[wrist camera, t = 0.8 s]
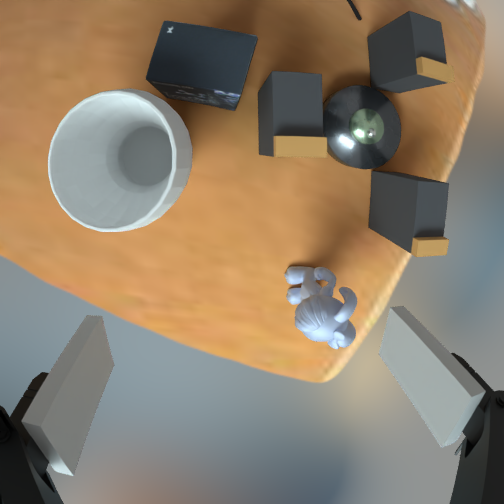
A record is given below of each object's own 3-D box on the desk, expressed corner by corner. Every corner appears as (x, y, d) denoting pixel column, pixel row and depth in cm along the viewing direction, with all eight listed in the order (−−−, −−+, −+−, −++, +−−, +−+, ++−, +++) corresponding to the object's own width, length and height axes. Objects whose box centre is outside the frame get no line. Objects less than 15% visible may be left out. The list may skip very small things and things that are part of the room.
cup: (105, 118, 30) (35, 104, 16) (197, 102, 31) (179, 68, 17) (116, 208, 34) (55, 248, 19) (206, 196, 34) (195, 230, 20)
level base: (316, 84, 31) (327, 78, 28) (390, 94, 32) (405, 90, 28) (317, 166, 34) (328, 168, 31) (390, 169, 35) (406, 172, 32)
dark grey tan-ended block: (367, 37, 29) (414, 7, 19) (395, 43, 30) (446, 19, 19) (371, 88, 31) (423, 72, 21) (398, 93, 32) (454, 81, 21)
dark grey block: (371, 170, 35) (424, 182, 24) (399, 172, 35) (455, 185, 25) (368, 227, 37) (416, 257, 27) (395, 226, 37) (446, 254, 27)
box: (165, 99, 30) (143, 79, 20) (179, 53, 29) (163, 17, 19) (235, 112, 32) (241, 97, 22) (248, 66, 30) (259, 34, 20)
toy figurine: (276, 260, 37) (299, 309, 26) (327, 252, 38) (368, 296, 26) (281, 311, 40) (303, 370, 28) (329, 302, 40) (364, 356, 29)
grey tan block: (257, 92, 31) (274, 68, 20) (294, 93, 31) (325, 71, 21) (259, 154, 33) (275, 156, 23) (295, 154, 33) (326, 157, 23)
